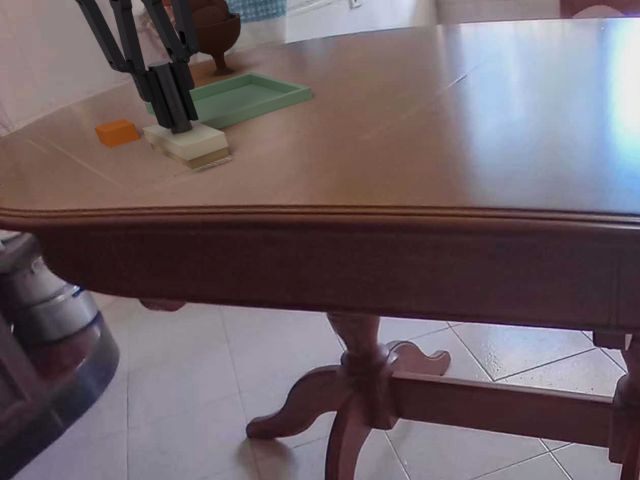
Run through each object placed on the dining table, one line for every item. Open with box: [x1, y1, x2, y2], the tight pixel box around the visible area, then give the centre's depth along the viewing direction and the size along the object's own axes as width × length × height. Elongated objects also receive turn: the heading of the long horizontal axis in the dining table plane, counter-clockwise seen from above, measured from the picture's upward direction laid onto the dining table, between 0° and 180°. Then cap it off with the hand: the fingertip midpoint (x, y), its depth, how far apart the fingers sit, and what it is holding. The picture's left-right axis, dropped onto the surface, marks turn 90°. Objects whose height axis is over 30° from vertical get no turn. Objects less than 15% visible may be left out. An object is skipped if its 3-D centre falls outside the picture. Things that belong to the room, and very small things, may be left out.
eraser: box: [94, 118, 140, 149], centre depth 96 cm, size 4×4×3 cm
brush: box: [142, 60, 230, 170], centre depth 86 cm, size 12×5×11 cm, turn 44°
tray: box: [144, 71, 314, 130], centre depth 105 cm, size 18×18×2 cm
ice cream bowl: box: [173, 0, 242, 78], centre depth 118 cm, size 11×11×15 cm
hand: (178, 122), depth 87 cm, fingers closed on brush, 3 cm apart
